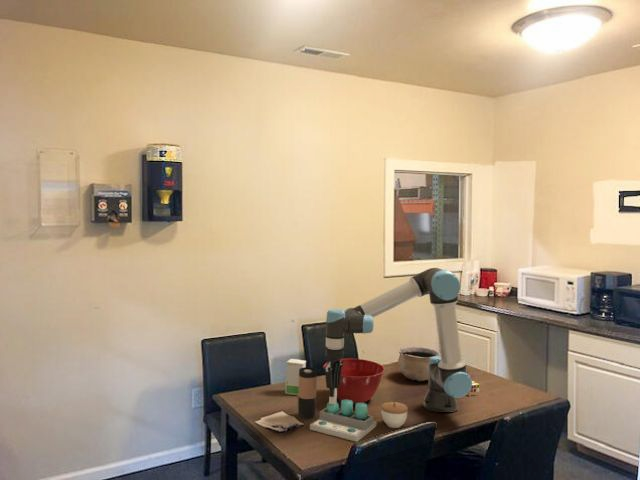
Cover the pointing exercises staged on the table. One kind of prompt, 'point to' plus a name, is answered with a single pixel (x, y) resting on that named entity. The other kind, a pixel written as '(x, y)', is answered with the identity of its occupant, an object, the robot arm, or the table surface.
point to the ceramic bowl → (415, 362)
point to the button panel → (343, 425)
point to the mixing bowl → (359, 380)
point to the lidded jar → (394, 414)
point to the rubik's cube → (474, 387)
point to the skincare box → (293, 375)
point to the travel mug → (307, 392)
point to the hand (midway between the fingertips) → (332, 403)
